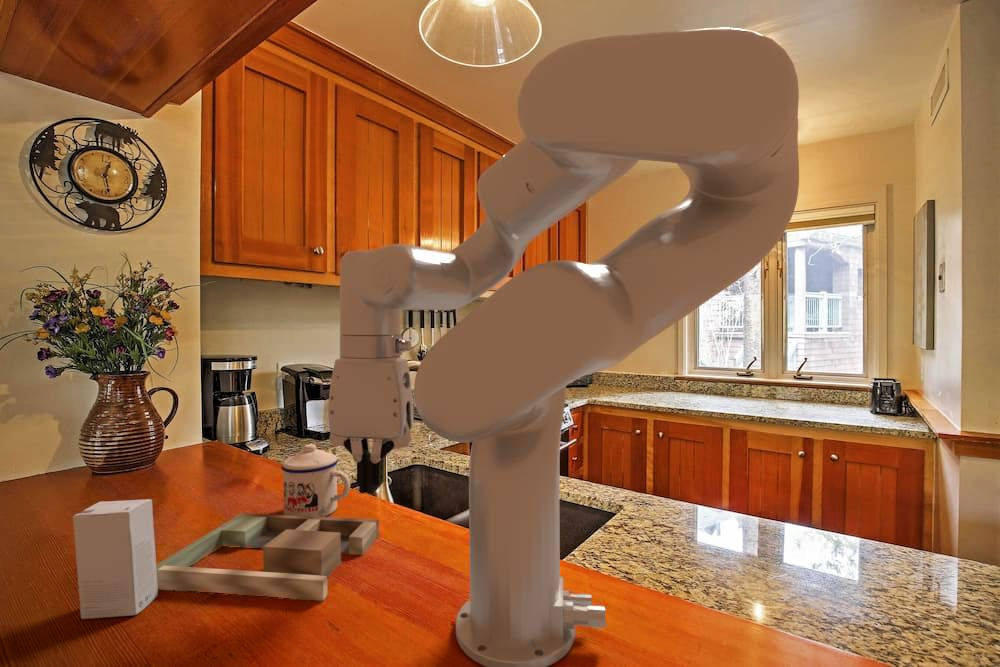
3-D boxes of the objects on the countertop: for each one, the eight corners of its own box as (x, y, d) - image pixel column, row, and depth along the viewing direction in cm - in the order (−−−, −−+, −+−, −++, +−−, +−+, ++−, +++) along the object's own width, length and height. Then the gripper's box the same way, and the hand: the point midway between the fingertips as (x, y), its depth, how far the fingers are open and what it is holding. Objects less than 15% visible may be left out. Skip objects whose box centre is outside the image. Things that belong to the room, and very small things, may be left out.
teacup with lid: (270, 520, 78) (268, 451, 78) (304, 499, 87) (302, 437, 87) (335, 526, 75) (333, 454, 75) (363, 504, 84) (362, 440, 84)
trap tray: (379, 535, 72) (378, 519, 72) (323, 601, 55) (322, 580, 55) (241, 528, 75) (241, 513, 75) (149, 588, 58) (148, 569, 58)
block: (341, 565, 64) (340, 532, 64) (321, 585, 59) (321, 550, 59) (287, 561, 65) (286, 529, 65) (263, 581, 60) (263, 546, 60)
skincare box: (159, 595, 57) (156, 496, 56) (134, 618, 52) (131, 511, 52) (105, 598, 56) (101, 499, 56) (74, 622, 52) (71, 514, 51)
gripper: (435, 348, 63) (434, 483, 63) (330, 345, 64) (330, 476, 65) (418, 352, 55) (417, 505, 56) (300, 349, 57) (300, 497, 58)
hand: (370, 489), depth 61 cm, fingers closed
